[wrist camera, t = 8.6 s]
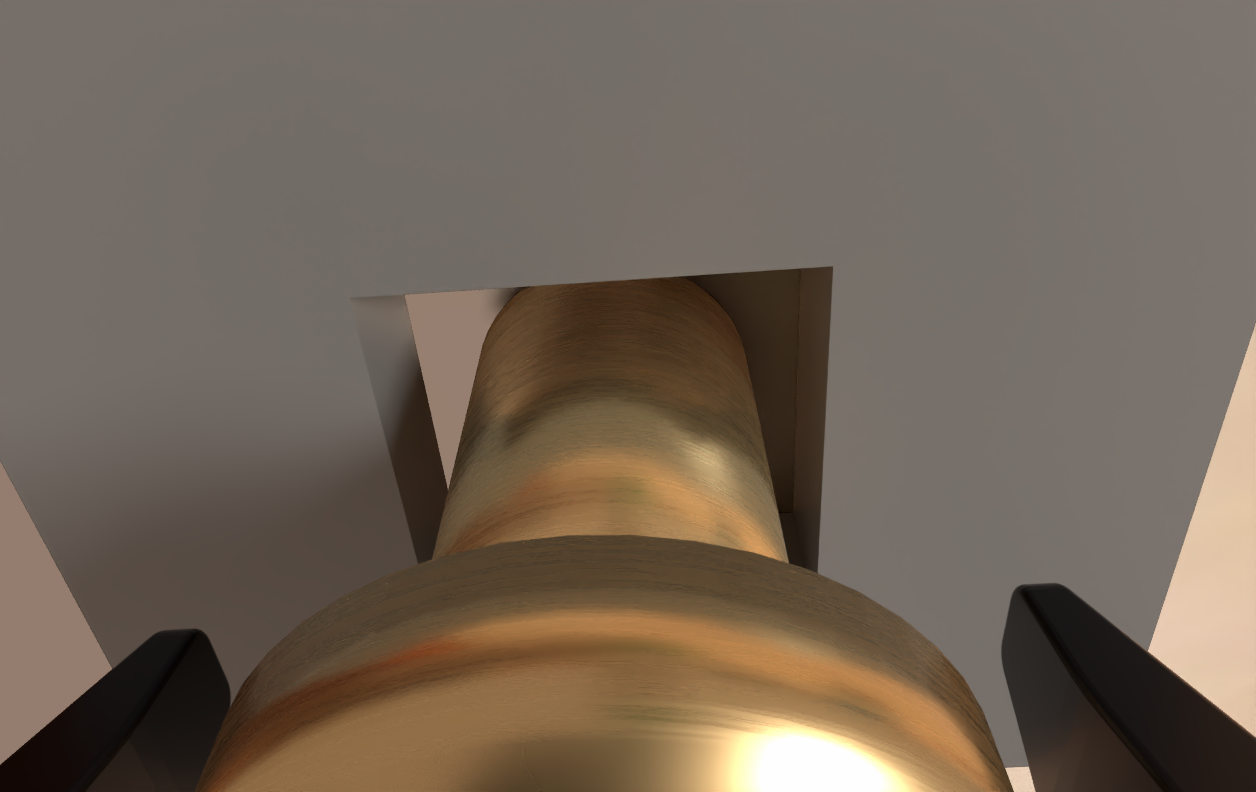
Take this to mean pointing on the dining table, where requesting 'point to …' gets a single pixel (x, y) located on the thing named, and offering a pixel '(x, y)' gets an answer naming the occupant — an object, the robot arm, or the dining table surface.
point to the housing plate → (622, 278)
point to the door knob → (607, 601)
